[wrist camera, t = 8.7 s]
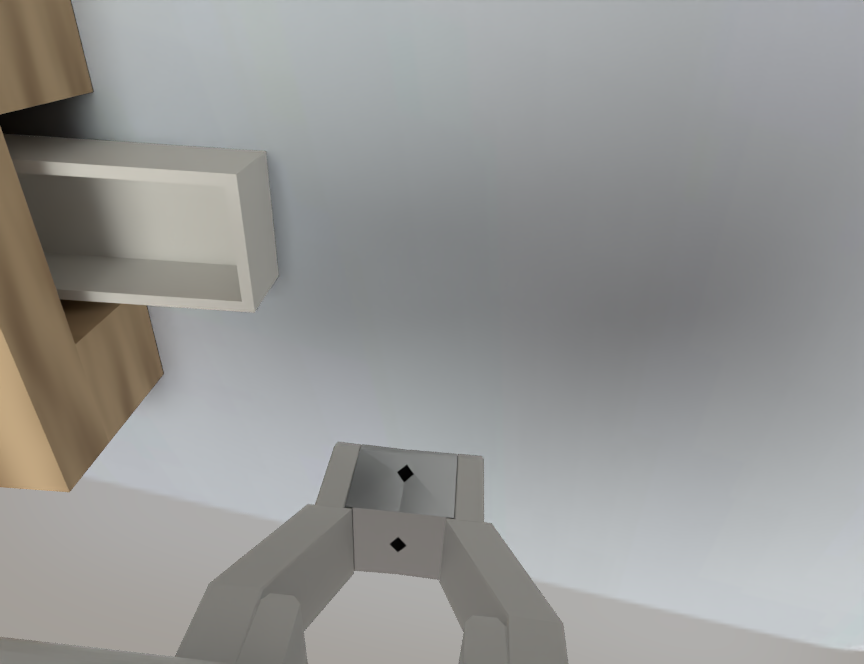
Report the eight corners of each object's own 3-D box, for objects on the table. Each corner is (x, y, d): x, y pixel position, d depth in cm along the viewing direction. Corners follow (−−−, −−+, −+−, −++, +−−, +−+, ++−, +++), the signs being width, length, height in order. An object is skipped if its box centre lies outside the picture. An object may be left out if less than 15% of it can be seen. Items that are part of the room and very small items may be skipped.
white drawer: (268, 149, 24) (236, 174, 20) (280, 273, 27) (255, 312, 23) (-48, 128, 24) (-133, 149, 20) (1, 254, 27) (-65, 290, 24)
